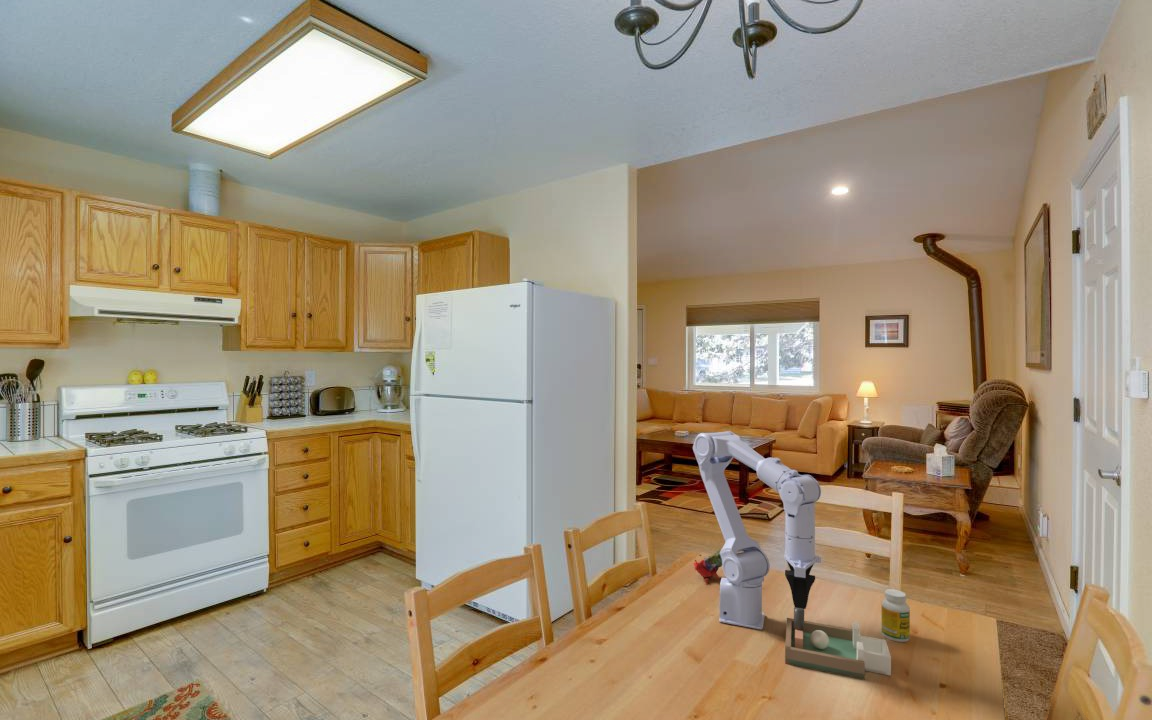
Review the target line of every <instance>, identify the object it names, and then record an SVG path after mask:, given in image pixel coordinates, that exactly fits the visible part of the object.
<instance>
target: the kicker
mask: <svg viewBox="0 0 1152 720" xmlns="http://www.w3.org/2000/svg"><path fill="white" fill-rule="evenodd" d="M793 619H794V629H795V648H799V649H803V630H804V621H805V609H802V608H796V607H795V606H794V607H793Z"/></svg>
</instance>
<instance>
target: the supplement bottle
mask: <svg viewBox="0 0 1152 720" xmlns="http://www.w3.org/2000/svg"><path fill="white" fill-rule="evenodd" d="M884 597H885V598H884V599H883V600H882V601H881V634H882V635H883V637H885V638H886V639H887V640H890V641H893V642H897V643H905V642H908V641H909V640H910V634H911V633H910V631H911V630H910V624H911V622H910V620H911V619H910V615H911V613H910V612H911V610H910V606H909V604H908V603H907V594H906V593H905V592H904V591H901V590H897V589H894V588H893V589H892V588H891V589H890V588H889V589H885V591H884Z"/></svg>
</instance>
